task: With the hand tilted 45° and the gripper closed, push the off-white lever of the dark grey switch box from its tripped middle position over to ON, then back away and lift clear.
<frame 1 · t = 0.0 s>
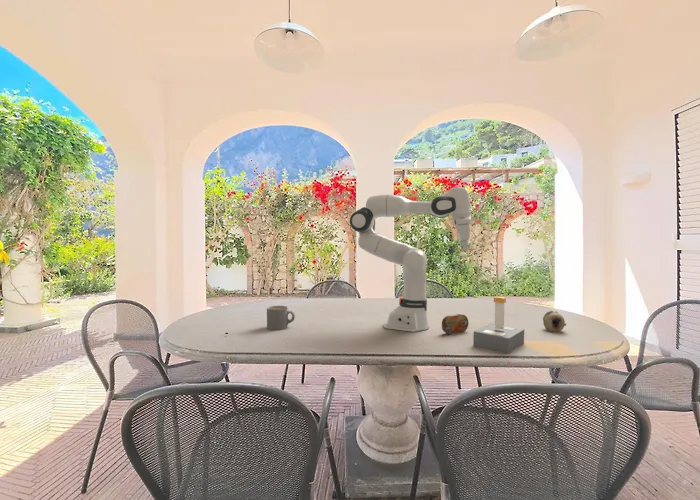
hand: (464, 249, 162), 39 cm above the table, tool pointing down, fingers open, 8 cm apart
garlic bulb: (554, 330, 164), on the table
switch box: (498, 344, 142), on the table
breaker lever: (499, 313, 142), point 13 cm above the table, hinge at 0.0°
coffee mug: (280, 328, 168), on the table
tin: (454, 333, 160), on the table
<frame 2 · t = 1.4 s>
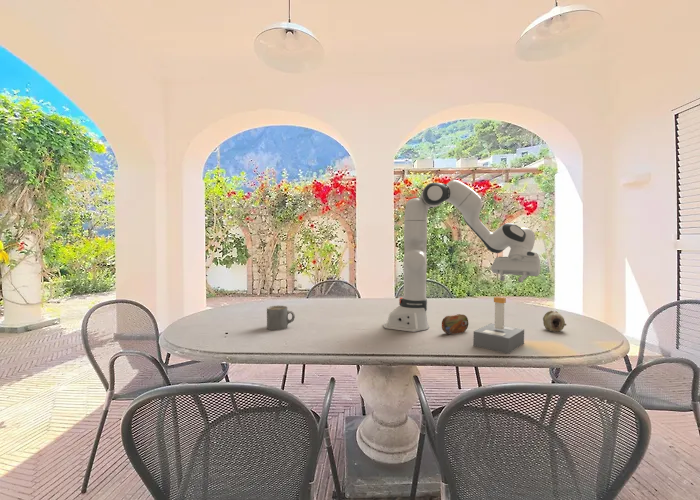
hand: (510, 280, 150), 26 cm above the table, tool tilted 45°, fingers open, 6 cm apart
nothing on the table moved.
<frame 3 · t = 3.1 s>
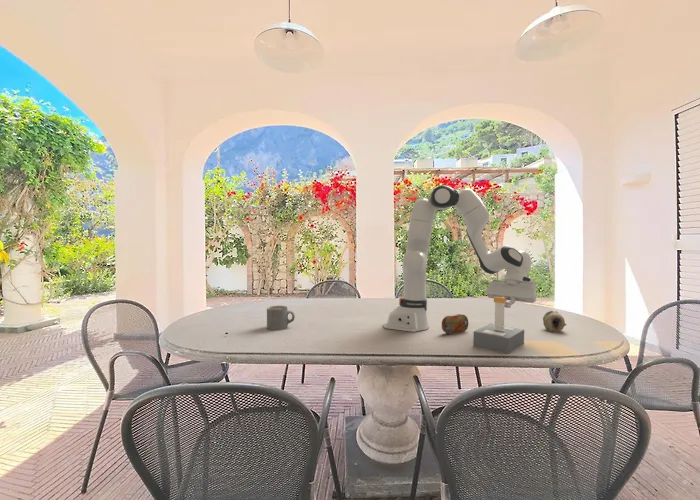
hand: (506, 306, 147), 15 cm above the table, tool tilted 45°, fingers closed
nothing on the table moved.
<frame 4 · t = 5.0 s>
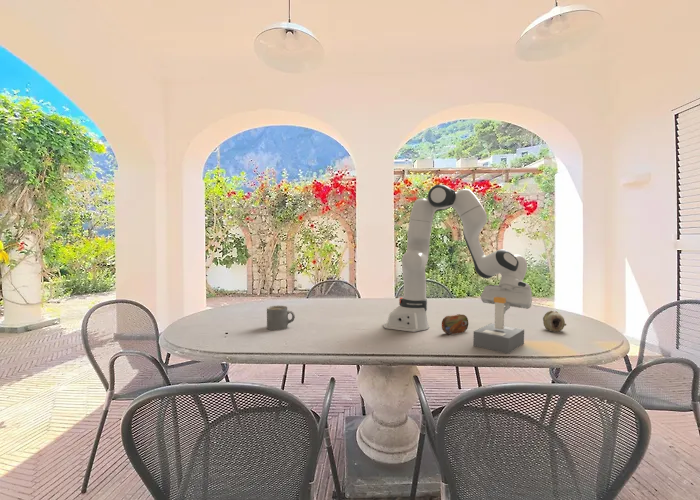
hand: (500, 312, 143), 13 cm above the table, tool tilted 45°, fingers closed, pressing on breaker lever
breaker lever: (499, 313, 142), point 13 cm above the table, hinge at 0.1°, touching gripper
everything else where it was.
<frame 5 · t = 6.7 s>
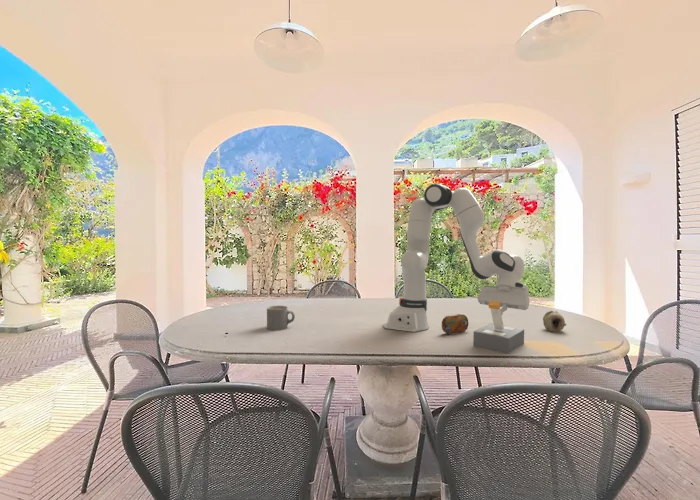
hand: (497, 314, 140), 13 cm above the table, tool tilted 45°, fingers closed, pressing on breaker lever
breaker lever: (496, 315, 139), point 13 cm above the table, hinge at 27.3°, touching gripper
everything else where it was.
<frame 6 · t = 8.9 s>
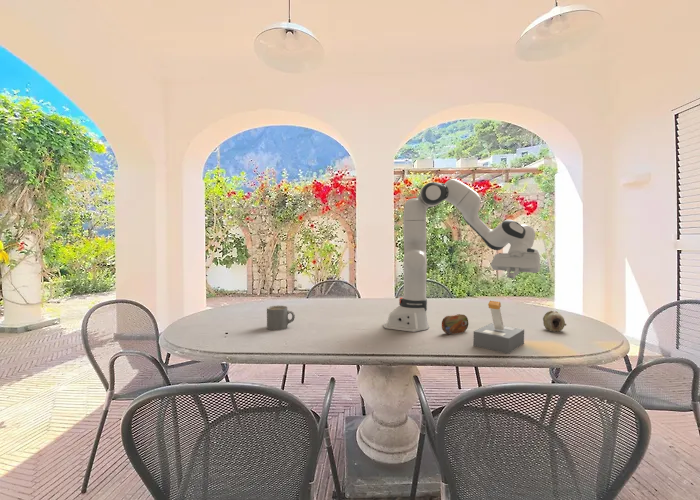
hand: (510, 277, 150), 27 cm above the table, tool tilted 45°, fingers closed
breaker lever: (496, 315, 139), point 13 cm above the table, hinge at 27.5°
everything else where it was.
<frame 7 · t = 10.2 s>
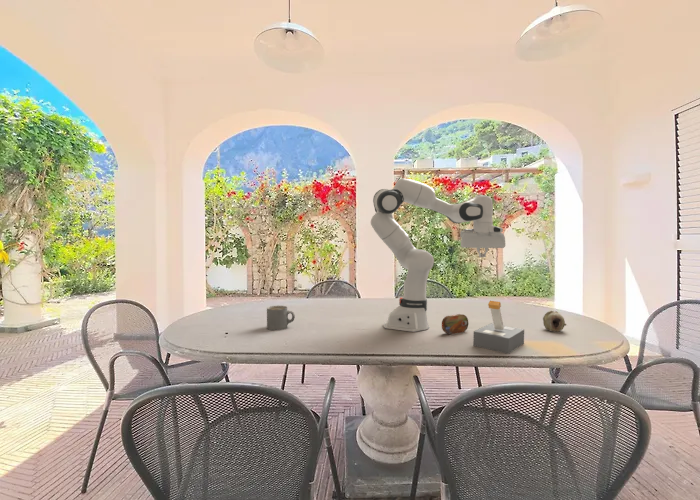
hand: (482, 257, 166), 35 cm above the table, tool pointing down, fingers closed
nothing on the table moved.
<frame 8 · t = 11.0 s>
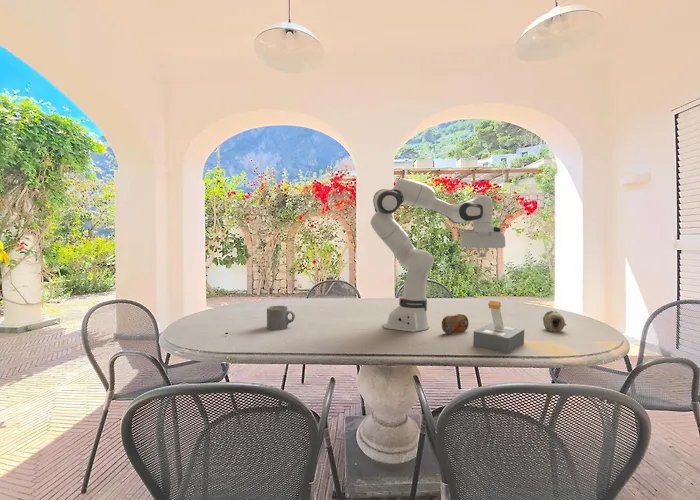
hand: (482, 257, 166), 35 cm above the table, tool pointing down, fingers closed
nothing on the table moved.
at the end: breaker lever at +28° (first picture: +0°); tin moved 0.3 cm from its start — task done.
